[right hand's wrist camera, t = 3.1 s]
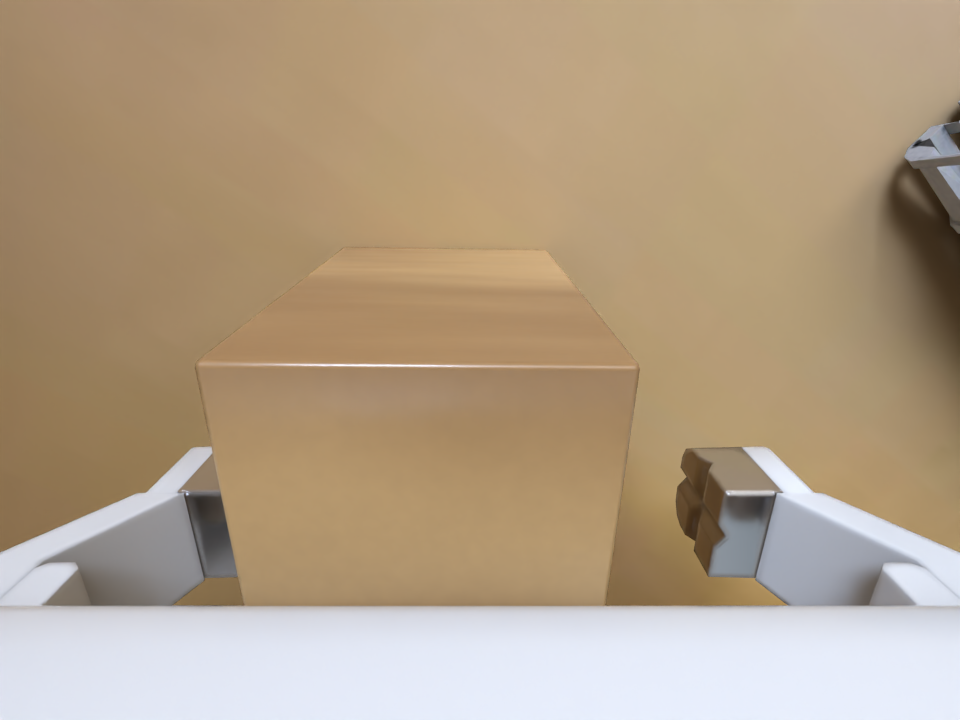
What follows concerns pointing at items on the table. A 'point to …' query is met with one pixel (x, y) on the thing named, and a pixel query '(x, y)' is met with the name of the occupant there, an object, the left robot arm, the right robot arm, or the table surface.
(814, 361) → the table surface
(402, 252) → the bar
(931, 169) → the toy gun
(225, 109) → the table surface
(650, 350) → the table surface
